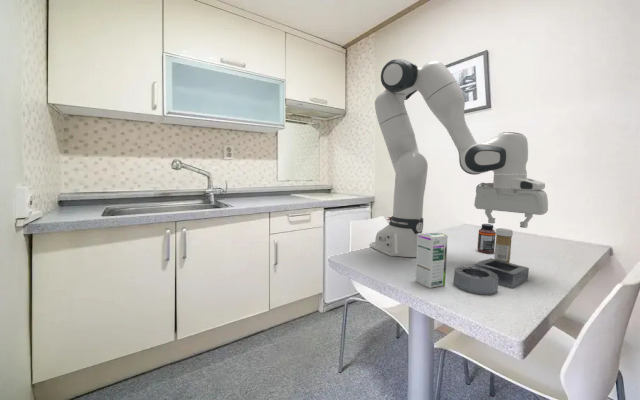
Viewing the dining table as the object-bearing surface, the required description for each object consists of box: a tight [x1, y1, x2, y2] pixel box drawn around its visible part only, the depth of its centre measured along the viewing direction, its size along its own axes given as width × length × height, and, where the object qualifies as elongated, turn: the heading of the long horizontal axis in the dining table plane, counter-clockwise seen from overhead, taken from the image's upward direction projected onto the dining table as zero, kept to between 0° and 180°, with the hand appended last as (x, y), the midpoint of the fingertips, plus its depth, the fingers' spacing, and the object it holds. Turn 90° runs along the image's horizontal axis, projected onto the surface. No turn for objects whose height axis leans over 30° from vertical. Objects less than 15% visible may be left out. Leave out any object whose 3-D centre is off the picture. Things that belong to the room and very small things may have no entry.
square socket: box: [473, 258, 530, 289], centre depth 83 cm, size 10×10×4 cm
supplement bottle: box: [476, 223, 496, 254], centre depth 111 cm, size 6×6×11 cm
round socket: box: [453, 265, 499, 296], centre depth 76 cm, size 10×10×4 cm
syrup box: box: [415, 231, 448, 289], centre depth 78 cm, size 6×6×14 cm
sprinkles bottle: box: [493, 227, 514, 263], centre depth 91 cm, size 5×5×14 cm
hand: (506, 225), depth 90 cm, fingers open, 8 cm apart
